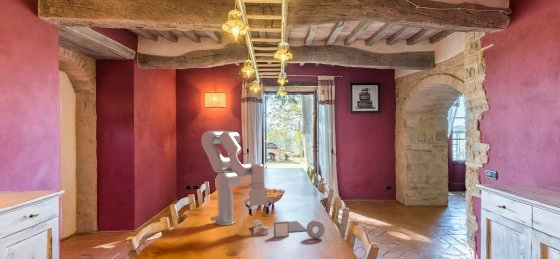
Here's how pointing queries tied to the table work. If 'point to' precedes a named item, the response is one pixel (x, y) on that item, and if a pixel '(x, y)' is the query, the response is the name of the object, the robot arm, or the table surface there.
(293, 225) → the mat
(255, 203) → the robot arm
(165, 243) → the table surface
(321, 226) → the donut
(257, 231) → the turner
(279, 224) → the tile
